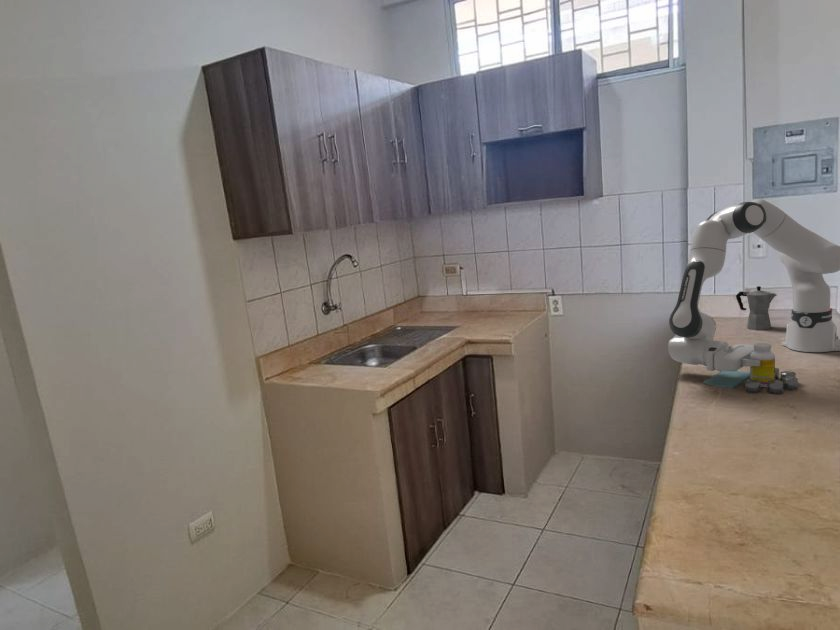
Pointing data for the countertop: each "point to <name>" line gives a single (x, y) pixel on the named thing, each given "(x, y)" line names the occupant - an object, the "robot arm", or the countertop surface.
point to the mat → (728, 379)
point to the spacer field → (774, 383)
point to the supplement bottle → (763, 364)
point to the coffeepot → (757, 308)
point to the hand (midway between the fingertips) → (765, 359)
